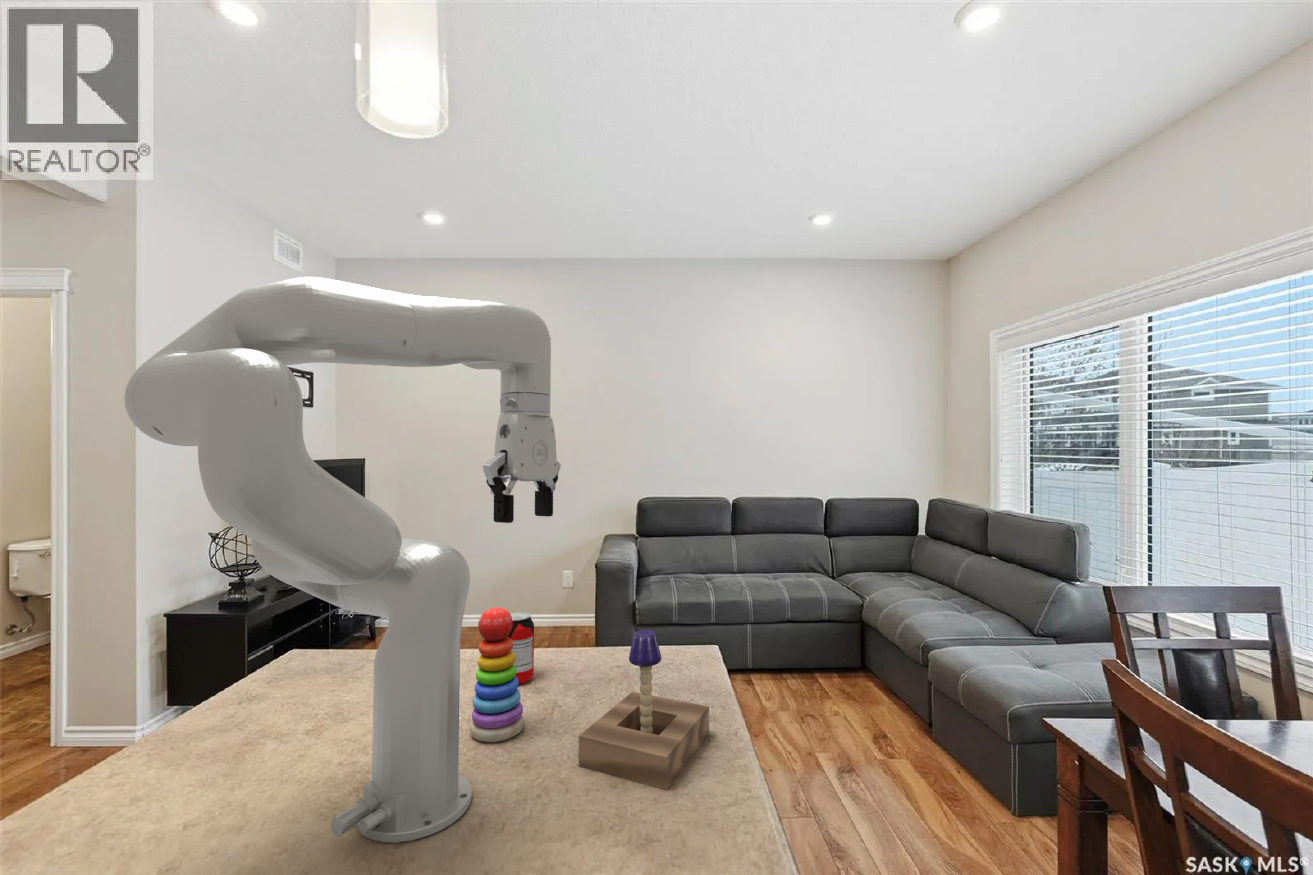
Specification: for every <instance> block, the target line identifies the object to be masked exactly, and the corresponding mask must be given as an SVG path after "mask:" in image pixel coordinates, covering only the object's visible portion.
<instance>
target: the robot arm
mask: <svg viewBox="0 0 1313 875" xmlns="http://www.w3.org/2000/svg"><path fill="white" fill-rule="evenodd" d="M551 340H552V338H551V335H550V330H549V329H548V326H547V324H546V322H545V321H544V319H543V318H542V317H541V316H540V315H539V314H537V313H536V312H535V311H532V310H530V309H529V308H525V307H520V306H516V305H512V304H506V303H502V302H501V303H500V302H493V301H482V300H471V299H458V298H449V297H441V296H427V295H425V296H423V295H417V294H416V295H415V294H409V293H403V292H398V291H392V290H386V289H381V288H377V287H371V286H368V285H362V284H357V283H352V282H346V281H343V280H336V279H332V278H326V277H325V278H324V277H318V276H317V277H316V276H301V277H294V278H293V277H292V278H289V279H283V280H278V281H275V282H274V281H273V282H270V283H266V284H265V283H264V284H260V285H256V286H253V287H249V288H246V289H244V290H242V291H240V292H238V293H236V294H235V295H233V296H232V297H231V298H229V299H228V300H226V301H225V302H223V303H222V304H221V305H219V306H218V307H217V308H215V309H213V311H211V312H210V313H209V314H208V315H205V317H203V318H202V319H200V320H199V321H198V322H197V323H195V324H194V325H193V326H192V327H190V328H189V329H188V330H186V331H185V332H183V333H182V334H180V335H179V336H178V337H176V338H175V339H174V340H173V341H171V342H169V343H168V344H167V345H166V346H164V347H163V348H162V349H160V350H159V351H158V352H155V354H154V355H152V356H151V357H149V358H148V359H146V361H145V362H144V363H142V364H140V366H139V367H138V368H137V369H136V370H135V372H134V373H133V375H132V376H131V377H130V378H129V381H128V382H127V385H126V388H125V393H124V405H125V406H124V407H125V410H126V411H127V412H126V413H127V415H128V417H129V419H130V420H131V422H132V423H133V425H134V427H136V429H138V430H139V431H141V433H142V434H144V435H145V436H148V437H150V438H151V439H153V440H156V441H158V442H161V443H163V444H169V445H173V446H178V447H197V460H198V467H199V468H198V469H199V474H200V479H201V483H202V486H203V491H204V493H205V497H206V499H207V501H208V503H209V505H210V506H211V508H212V510H213V511H214V512H215V513H216V515H217V516H218V517H219V518H220V519H222V521H224V522H225V523H226V524H227V525H229V526H231V527H232V528H233V529H235V530H236V531H238V532H239V533H241V534H243V535H244V536H246V537H248V538H250V540H251V542H250V543H251V550H252V553H253V555H254V557H255V559H256V561H257V563H258V564H259V565H260V567H261V569H263V570H264V571H265V572H267V573H268V574H269V575H270V576H272V577H273V578H275V579H277V580H279V581H281V582H283V583H284V584H287V585H289V586H291V587H293V588H296V589H297V590H300V591H303V592H305V593H306V594H308V595H311V596H313V597H316V598H318V599H320V600H322V601H324V602H326V603H329V604H331V605H333V606H335V607H338V608H340V609H344V610H346V611H350V612H353V613H356V614H357V613H358V614H363V615H368V616H374V617H380V618H384V619H387V620H388V625H387V627H386V630H385V632H384V634H383V637H382V639H381V640H380V643H379V645H378V647H377V649H376V652H375V656H374V662H373V663H374V664H373V676H372V677H373V678H372V680H373V689H372V690H373V693H372V694H373V695H372V696H373V697H372V700H373V702H372V742H371V743H372V744H371V745H372V746H371V747H372V748H371V749H372V750H371V752H372V755H371V781H368V782H367V783H365V784H364V785H363V786H362V791H363V792H362V797H359V798H358V800H357V802H356V804H355V805H353V806H351V807H349V808H348V809H345V810H344V811H343V812H341V813H339V814H337V815H335V817H333V818H332V819H331V821H330V829H331V831H332V833H333V835H334V836H335V837H340V836H342V835H344V834H346V833H347V832H348V831H350V830H351V829H353V828H354V827H356V829H357V830H358V832H359V834H361V835H362V836H363V837H365V838H367V839H369V840H372V841H376V842H381V843H401V842H402V843H403V842H409V841H415V840H419V839H422V838H425V837H428V836H432V835H433V834H436V833H438V832H440V831H442V830H444V829H445V828H447V827H449V826H450V825H451V826H452V824H453V823H454V822H456V821H457V820H459V819H460V818H461V816H462V815H463V814H465V812H467V810H468V808H469V806H470V805H471V801H472V792H473V790H472V783H470V781H469V779H468V778H467V777H465V776H464V775H462V774H461V773H459V757H460V756H459V755H460V754H459V753H460V750H459V749H460V747H459V746H460V744H459V743H460V741H459V740H460V684H461V683H460V682H461V681H460V677H461V676H460V675H461V674H460V671H461V664H460V663H461V638H462V628H463V627H462V626H463V621H464V620H463V619H464V614H465V610H466V608H465V607H466V605H467V599H468V595H469V589H470V583H471V581H470V580H471V577H470V576H471V574H470V567H469V564H468V561H467V560H466V558H465V557H464V555H463V554H462V553H461V552H460V551H459V550H457V549H456V548H455V547H453V546H451V545H449V544H446V543H444V542H441V541H436V540H428V539H418V538H417V539H416V538H407V537H405V538H402V534H401V531H400V529H399V526H398V524H397V523H396V521H395V520H394V519H393V518H392V516H391V515H390V514H389V513H388V512H386V511H385V509H383V508H382V507H381V506H379V505H377V504H376V503H375V502H373V501H371V500H369V499H367V498H366V497H364V496H363V495H361V494H360V493H358V492H357V491H356V490H354V489H352V488H351V487H349V486H348V485H346V484H345V483H343V482H342V481H341V480H339V479H337V478H336V477H335V476H333V475H332V474H330V473H329V472H328V471H327V470H325V469H324V468H323V467H321V466H320V465H319V464H317V463H316V462H315V460H314V459H313V458H312V457H311V456H310V454H309V452H308V450H307V448H306V444H305V440H304V432H303V429H304V427H303V423H304V422H303V419H304V418H303V417H304V416H303V415H304V414H303V413H304V401H303V400H304V399H303V395H302V390H301V386H300V384H299V382H298V379H297V378H296V376H295V374H294V373H293V372H292V369H290V368H289V367H288V366H294V365H302V364H313V363H315V364H316V363H321V364H322V363H325V364H326V363H327V364H328V363H329V364H347V365H348V364H349V365H366V366H367V365H370V366H385V367H402V368H404V367H405V368H428V367H429V368H430V367H443V366H450V365H452V366H453V365H457V364H461V365H463V366H465V367H467V368H471V369H475V370H498V371H499V372H500V400H499V404H500V406H499V407H500V412H499V413H500V414H499V416H498V421H497V426H496V432H495V433H496V434H495V442H494V454H493V455H494V456H493V457H492V458H490V460H488V461H487V462H486V463H483V466H482V470H483V473H484V476H485V478H486V484H487V486H488V487H489V488H490V494H491V495H493V522H495V523H504V524H511V523H513V522H514V515H515V514H514V513H515V511H514V508H515V507H514V506H515V505H514V504H515V503H514V502H515V499H514V498H515V497H514V494H511V493H512V491H513V489H514V488H515V485H516V483H517V482H518V481H520V482H533V483H534V485H535V486H536V488H537V490H534V515H535V516H536V517H553V516H554V491H555V490H556V483H557V482H558V480H559V473H560V470H561V463H560V462H559V461H558V456H557V444H556V442H557V441H556V433H555V425H554V420H553V417H551V382H552V379H551V376H552V374H551V373H552V370H551V369H552V368H551V366H552V364H551V362H552V359H551V358H552V357H551V356H552V342H551Z"/></svg>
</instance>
